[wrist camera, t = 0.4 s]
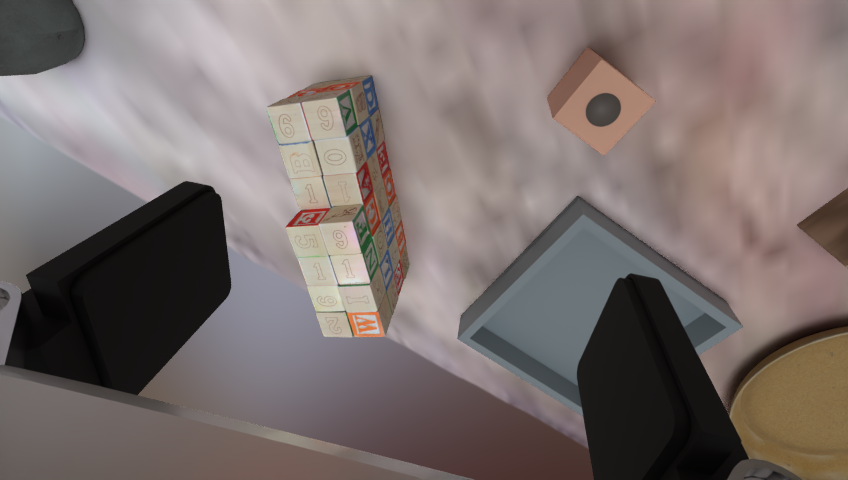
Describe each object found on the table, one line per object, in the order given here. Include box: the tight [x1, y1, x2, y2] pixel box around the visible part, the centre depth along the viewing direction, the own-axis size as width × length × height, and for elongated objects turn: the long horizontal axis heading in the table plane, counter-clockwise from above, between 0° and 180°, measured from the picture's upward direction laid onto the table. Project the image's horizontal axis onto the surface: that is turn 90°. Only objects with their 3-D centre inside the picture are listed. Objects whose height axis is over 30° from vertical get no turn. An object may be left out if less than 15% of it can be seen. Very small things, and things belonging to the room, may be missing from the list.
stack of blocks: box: [267, 76, 409, 337], centre depth 41 cm, size 21×6×12 cm, turn 8°
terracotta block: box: [547, 47, 656, 156], centre depth 35 cm, size 5×5×7 cm
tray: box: [457, 196, 743, 416], centre depth 47 cm, size 20×20×4 cm
